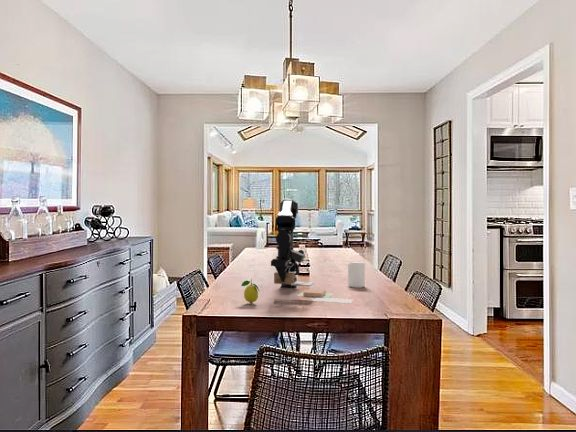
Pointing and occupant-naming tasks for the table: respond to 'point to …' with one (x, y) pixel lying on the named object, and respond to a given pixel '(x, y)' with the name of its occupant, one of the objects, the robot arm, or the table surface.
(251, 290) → the lemon
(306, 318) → the table surface
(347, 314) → the table surface
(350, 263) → the grey cylinder
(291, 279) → the turner
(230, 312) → the table surface
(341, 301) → the tool pad
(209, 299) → the table surface
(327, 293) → the felt mat
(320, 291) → the tile
